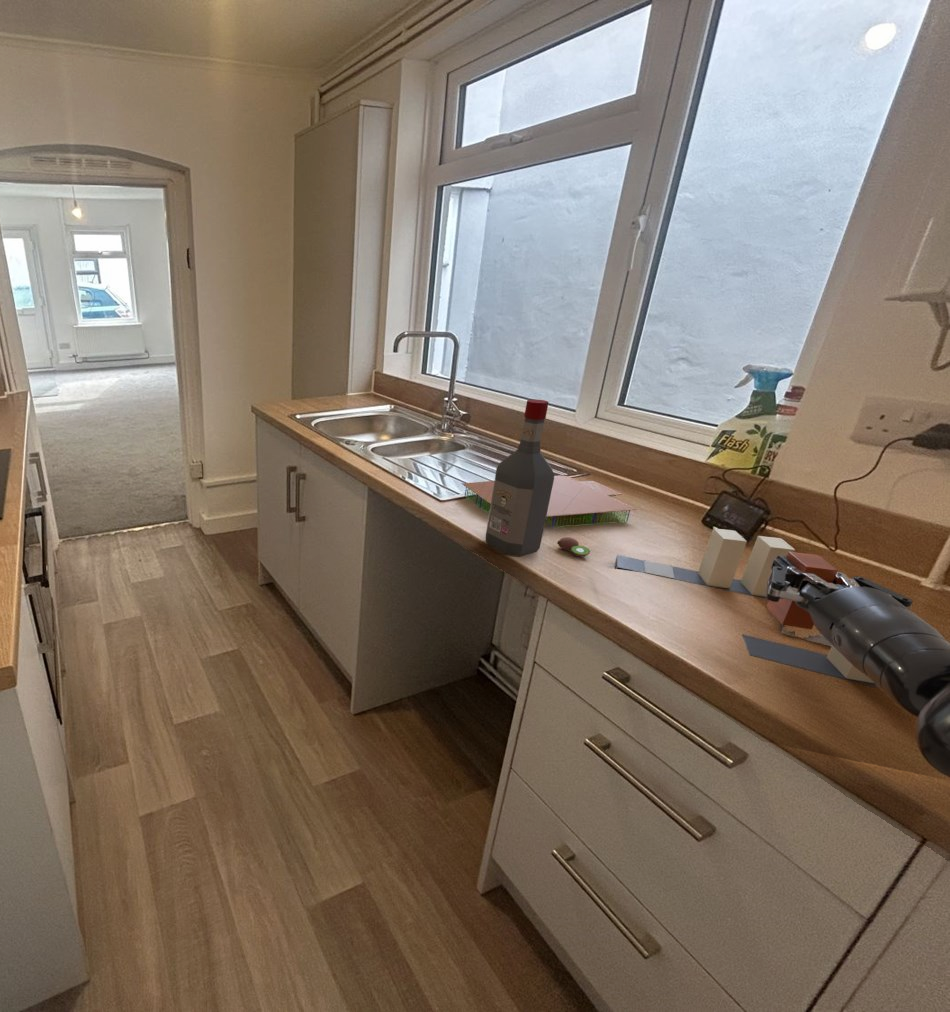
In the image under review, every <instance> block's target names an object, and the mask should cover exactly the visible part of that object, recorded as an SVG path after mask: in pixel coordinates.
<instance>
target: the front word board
mask: <svg viewBox="0 0 950 1012" xmlns="http://www.w3.org/2000/svg"><path fill="white" fill-rule="evenodd" d="M742 638H743V642H744V644H745V647H746V650H747V652H748V655H749V656H751V657H754V658H759V659H763V660H767V661H771V662H774V663H778V664H782V665H785V666H786V665H787V666H790V667H793V668H797V669H803V670H805V671H809V672H814V673H817V674H822V675H825V676H829V677H833V678H837V679H841V680H845V681H849V682H853V683H857V684H861V685H864V686H869V687H872V688H876V689H880V688H879V687H878V686H877V685H876V684H875V683H874V682H873V681H872V680H871V679H870V678H869V677H868V676H866V675H865V674H863V673H862V672H861V671H859V670H858V669H857V668H855V667H854V666H853V665H852V664H851V663H850V662H849V661H848V660H847V659H846V658H845V657H844V656H843V655H842V654H841V653H840V652H839V651H838V650H837V649H836V648H835V647H834V646H833V645H832V647H831V646H830V649H829V651H828V654H825V653H821V652H818V651H817V652H816V651H813V650H809V649H804V648H801V647H797V646H792V645H787V644H783V643H781V642H775V641H771V640H768V639H763V638H759V637H755V636H751V635H746V634H742Z"/></svg>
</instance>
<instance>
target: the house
mask: <svg viewBox="0 0 950 1012" xmlns="http://www.w3.org/2000/svg"><path fill="white" fill-rule="evenodd" d="M494 481H495V480H486V481H475V482H474V481H473V482H463V483H461V485H462V486H464V487H465V489H464V497H465V498H466V499H468V500H469V502H472V503H474V504H475V506H477V507H479V508H480V509H481V510H483V512H485V513H487V514H488V515H489V512H490V506H491V500H492V493H493V487H494ZM617 496H623V493H621V492H619V491H617V490H615V489H612V488H610V487H608V486H606V485H603V484H602V483H600V482H597V481H595V480H582V481H580V480H577V479H576V478H573V477H572V476H571V477H570V476H569V475H562V474H561V475H554V482H553V486H552V491H551V496H550V501H549V506H548V511H547V515H546V520H545V525H548V526H549V527H551V528H554V527H555V528H561V527H563V528H565V526H568V527H575V526H577V525H581V526H587V525H588V526H589V525H603V523H608V524H611V523H612V524H613V523H617V519H618V521H620V520H621V521H620V523H626V522H628V520H629V517H630V513H631V511H637V510H638V509H637V508H635V507H634V506H631V505H629V504H627V503H625V502H623V501H620V500H619V499H616V498H614V497H617ZM600 513H601V515H600ZM603 513H604V516H603ZM606 513H607V515H606ZM609 514H610V515H609ZM596 515H597V516H596ZM563 516H564V517H563ZM566 516H567V518H566ZM569 516H570V518H569ZM573 516H574V517H573ZM576 516H577V517H576ZM556 517H557V519H556ZM559 517H560V519H559ZM605 517H606V519H605ZM612 517H613V518H612ZM615 517H616V518H615ZM572 518H573V519H572ZM599 518H600V519H599ZM602 518H603V519H602ZM608 518H609V521H608ZM550 519H551V520H550ZM581 519H582V523H581ZM595 519H596V522H595ZM611 519H612V521H611ZM614 519H615V521H614ZM547 520H548V521H547ZM565 520H566V523H564V522H565ZM568 520H569V524H568ZM575 520H576V522H575ZM578 520H579V521H578ZM598 520H599V522H598ZM555 521H556V523H555ZM562 521H563V522H562ZM584 521H585V524H584ZM601 521H602V522H601ZM604 521H605V522H604ZM558 522H559V526H558ZM571 522H572V525H571ZM574 522H575V524H574ZM587 522H588V523H587ZM549 523H550V524H549ZM561 523H562V525H561ZM577 523H578V524H577ZM554 524H555V525H554ZM564 524H565V525H564ZM567 524H568V525H567Z"/></svg>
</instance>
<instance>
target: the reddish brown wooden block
mask: <svg viewBox="0 0 950 1012" xmlns="http://www.w3.org/2000/svg"><path fill="white" fill-rule="evenodd" d="M787 558H788V559H789V560H790V561H791V562H792V563H793V564H795V565H796V566H797V567H798V568H799V569H800V570H802V571H803V572H805V573H813V574H815V575H817V576H818V577H820V578H821V579H823V580H825V581H826V582H828V583H833V581H834V579H835V576H836V574H837V572H839V570H838V569H837V568H836V567H834V566H833V565H832V564H831V563H829V562H828V561H827V560H826V559H824V558H823V557H822V556H820V555H819V554H814V553H804V552H796V551H795V552H788V555H787ZM796 581H797V580H796ZM795 583H796V582H795ZM766 609H767V610H768V611H769V612H770V613H771V615H772V616H773V617H774V618H775V620H777V621H778V622H779V623H780V625H781V624H782V625H784V626H786V627H793V628H799V629H806V630H813V627H814V626H815V625H814V623H813V620H812V618H811V615H810V613H809V612H808V611H806V610H804V609H802V608H800V607H799V606H798V605H797V604H796V602H795V601H792V600H788V599H785V598H784V599H779V601H778V602H773V601H770V600H768V602H767V604H766Z"/></svg>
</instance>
